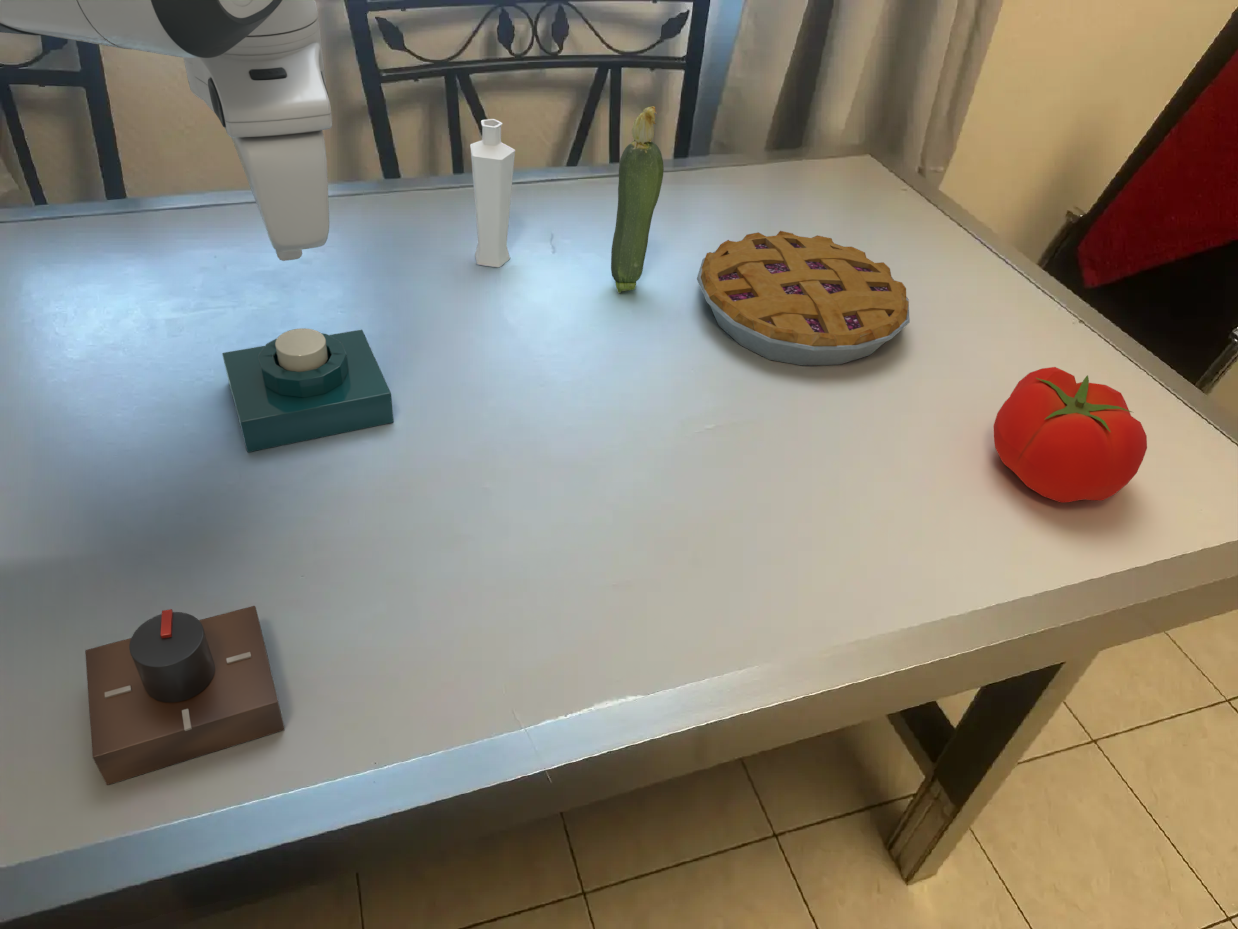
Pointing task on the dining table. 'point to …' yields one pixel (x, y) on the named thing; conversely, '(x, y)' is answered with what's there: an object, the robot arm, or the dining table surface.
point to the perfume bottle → (492, 193)
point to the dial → (172, 656)
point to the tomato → (1069, 437)
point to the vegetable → (636, 201)
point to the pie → (802, 298)
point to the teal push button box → (307, 393)
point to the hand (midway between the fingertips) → (285, 245)
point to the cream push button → (301, 350)
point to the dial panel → (181, 702)
